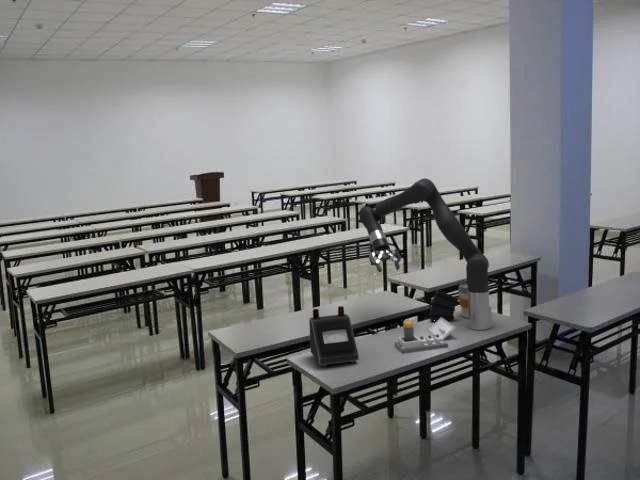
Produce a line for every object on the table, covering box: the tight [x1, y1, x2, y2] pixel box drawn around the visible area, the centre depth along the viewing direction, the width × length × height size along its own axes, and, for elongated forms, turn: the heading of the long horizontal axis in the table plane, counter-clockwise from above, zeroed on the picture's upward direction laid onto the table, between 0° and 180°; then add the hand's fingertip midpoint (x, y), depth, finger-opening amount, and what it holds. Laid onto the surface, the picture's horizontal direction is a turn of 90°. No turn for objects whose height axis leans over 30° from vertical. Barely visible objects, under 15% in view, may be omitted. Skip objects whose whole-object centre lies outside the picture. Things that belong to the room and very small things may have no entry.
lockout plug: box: [403, 319, 415, 342], centre depth 247 cm, size 4×4×10 cm
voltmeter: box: [308, 305, 360, 368], centre depth 239 cm, size 16×16×20 cm
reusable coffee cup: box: [457, 282, 469, 319], centre depth 284 cm, size 13×13×15 cm
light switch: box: [428, 317, 457, 341], centre depth 261 cm, size 8×5×14 cm
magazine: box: [428, 289, 459, 323], centre depth 280 cm, size 4×13×15 cm, turn 88°
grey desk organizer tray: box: [394, 334, 449, 354], centre depth 249 cm, size 20×10×4 cm, turn 100°
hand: (389, 270), depth 267 cm, fingers open, 8 cm apart
